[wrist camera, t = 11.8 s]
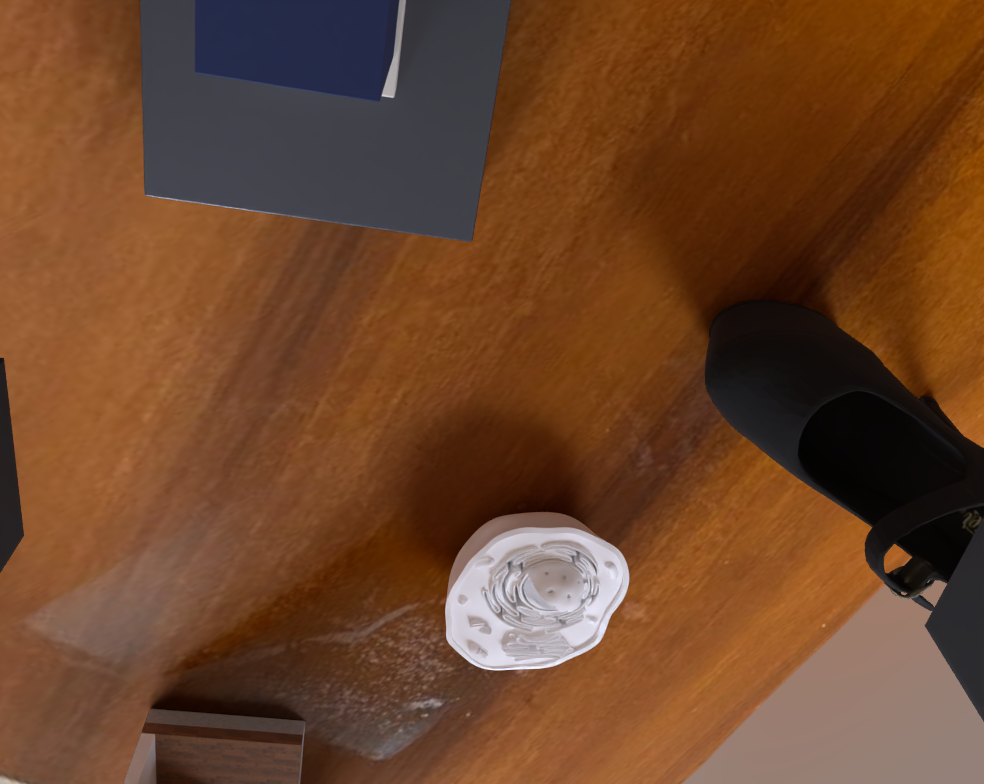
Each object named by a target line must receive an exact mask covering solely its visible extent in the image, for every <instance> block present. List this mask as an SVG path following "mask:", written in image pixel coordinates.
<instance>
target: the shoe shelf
mask: <svg viewBox="0 0 984 784" xmlns="http://www.w3.org/2000/svg"><path fill="white" fill-rule="evenodd" d="M510 6H511V0H406V6H405V15H404V24H403V33H402V42H401V52H400V61H399V70H398V79H397V88H396V92H395V96H394V97H393V98H391V97H385V96H381V99H380V102H374V101H368V100H362V99H355V98H349V97H343V96H336V95H330V94H324V93H317V92H311V91H305V90H298V89H292V88H286V87H280V86H273V85H267V84H261V83H254V82H248V81H242V80H235V79H229V78H223V77H216V76H210V75H204V74H198V73H195V0H140V25H141V66H142V107H143V148H144V189H145V195H146V196H150V197H157V198H164V199H171V200H178V201H185V202H192V203H200V204H207V205H214V206H221V207H228V208H235V209H242V210H249V211H256V212H263V213H270V214H277V215H284V216H291V217H298V218H305V219H312V220H319V221H326V222H333V223H340V224H347V225H354V226H361V227H368V228H375V229H382V230H389V231H396V232H403V233H410V234H417V235H424V236H431V237H438V238H445V239H452V240H459V241H466V242H472V240H473V234H474V228H475V222H476V216H477V210H478V204H479V197H480V191H481V185H482V179H483V173H484V167H485V160H486V154H487V148H488V142H489V136H490V130H491V124H492V117H493V111H494V105H495V99H496V93H497V87H498V80H499V74H500V68H501V62H502V56H503V50H504V43H505V37H506V31H507V25H508V19H509V13H510Z"/></svg>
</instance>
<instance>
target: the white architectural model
mask: <svg viewBox="0 0 984 784" xmlns="http://www.w3.org/2000/svg"><path fill="white" fill-rule="evenodd" d="M304 732H305V721H299V720H286V719H274V718H261V717H249V716H236V715H224V714H211V713H198V712H186V711H173V710H161V709H150V710H149V713H148V716H147V719H146V721H145V724H144V727H143V730H142V733H141V735H140V738H139V741H138V744H137V747H136V749H135V752H134V755H133V758H132V760H131V763H130V766H129V769H128V772H127V774H126V777H125V780H124V783H123V784H300V779H301V767H302V756H303V744H304Z"/></svg>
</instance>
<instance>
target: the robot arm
mask: <svg viewBox="0 0 984 784" xmlns="http://www.w3.org/2000/svg"><path fill="white" fill-rule="evenodd" d="M23 536H24V532H23V523H22V514H21V505H20V496H19V487H18V479H17V470H16V461H15V452H14V443H13V434H12V425H11V417H10V408H9V399H8V390H7V381H6V372H5V364H4V358H0V572H1V571H2V569H3V568H4V566H5V565H6V563H7V561H8V560H9V558H10V557H11V555H12V554H13V552H14V550H15V549H16V547H17V546H18V544H19V543H20V541H21V539H22V538H23ZM925 627H926V628H927V630H928V632H929V633H930V635H931V637H932V638H933V640H934V642H935V643H936V645H937V646H938V648H939V650H940V651H941V653H942V655H943V656H944V658H945V659H946V661H947V663H948V664H949V666H950V668H951V669H952V671H953V672H954V674H955V676H956V677H957V679H958V680H959V682H960V684H961V685H962V687H963V689H964V690H965V692H966V694H967V695H968V697H969V698H970V700H971V701H972V703H973V705H974V706H975V708H976V710H977V711H978V713H979V715H980V716H981V718H982V720H983V721H984V517H983V519H982V521H981V522H980V524H979V526H978V528H977V530H976V532H975V534H974V535H973V537H972V539H971V541H970V543H969V545H968V547H967V548H966V550H965V552H964V554H963V556H962V558H961V560H960V561H959V563H958V565H957V567H956V569H955V571H954V573H953V574H952V576H951V578H950V580H949V582H948V584H947V586H946V587H945V589H944V591H943V593H942V595H941V597H940V599H939V600H938V602H937V604H936V606H935V608H934V610H933V611H932V613H931V615H930V617H929V619H928V621H927V623H926V624H925Z"/></svg>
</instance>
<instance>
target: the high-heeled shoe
mask: <svg viewBox="0 0 984 784" xmlns="http://www.w3.org/2000/svg"><path fill="white" fill-rule="evenodd" d="M709 338H710V339H709V344H708V350H707V356H706V364H705V385H706V389H707V392H708V394H709V396H710V398H711V400H712V402H713V403H714V404H715V406H716V407H717V409H718V410H719V411H720V413H721V414H722V415H723V417H724V418H725V419H726V420H727V421H728V422H729V424H730V425H731V426H733V427H734V428H735V429H736V430H737V431H738V432H739V433H740V434H742V435H743V436H745V437H746V438H747V439H749V440H750V441H751V442H753V443H754V444H755V445H756V446H757V447H759V448H760V449H761V450H762V451H763V452H765V453H766V454H767V455H768V456H770V457H771V458H772V459H774V460H775V461H776V462H777V463H779V464H780V465H781V466H782V467H784V468H785V469H786V470H788V471H789V472H790V473H792V474H793V475H794V476H796V477H797V478H798V479H800V480H801V481H803V482H804V483H806V484H807V485H809V486H810V487H812V488H813V489H815V490H816V491H818V492H820V493H821V494H823V495H824V496H826V497H827V498H829V499H831V500H832V501H834V502H835V503H837V504H838V505H840V506H841V507H843V508H844V509H846V510H847V511H849V512H850V513H852V514H854V515H855V516H857V517H858V518H860V519H861V520H862V521H864V522H865V523H867V524H868V525H870V526H871V527H872V529H871V531H870V532H869V534H868V535H867V538H866V541H865V556H866V561H867V563H868V564H869V566H870V568H871V569H872V570H873V571H874V572H875V573H876V574H877V575H878V576H879V577H880V578H881V579H882V580H883V581H884V583H885V584H886V585H887V586H888V587H889V588H890V590H891V592H892V593H893V594H894V595H895V596H899V597H901V598H904V599H910V598H911V599H912V600H914V601H915V602H916V603H918V604H919V605H921V606H923V607H924V608H926V609H928V610H930V611H933V610H934V606H933V605H932V604H931V603H930V602H928V601H927V600H926V599H925V598H924V597H923V596H921V595H920V594H922V593H923V592H924V591H925V590H927V589H928V588H929V587H931V586H932V584H933V582H934V581H935V580H940V581H943V582H945V583H947V584H948V582H949V580H950V578H951V576H952V574H953V573H954V571H955V569H956V567H957V565H958V563H959V561H960V560H961V558H962V556H963V554H964V552H965V550H966V548H967V547H968V545H969V543H970V541H971V539H972V537H973V535H974V534H975V532H976V530H977V528H978V526H979V524H980V522H981V521H982V519H983V517H984V448H982V447H981V446H979V445H977V444H976V443H974V442H972V441H971V440H969V439H967V438H966V437H964V436H963V435H962V434H961V433H960V431H959V430H958V429H957V428H956V427H955V426H954V424H953V423H952V422H951V421H950V420H949V418H948V417H947V416H946V415H945V414H944V412H943V411H942V410H941V409H940V407H939V405H938V403H937V402H936V401H935V400H934V399H933V398H931V397H926V396H924V397H921V398H920V400H919V399H918V398H917V397H915V396H914V395H913V394H912V393H911V392H910V391H909V390H908V389H907V388H906V387H905V386H904V385H903V384H902V383H901V382H900V381H899V380H898V379H897V378H896V377H895V376H894V375H893V374H892V373H891V372H890V371H889V370H888V369H887V368H886V367H885V366H884V365H883V363H882V362H881V361H880V359H879V358H878V357H877V356H876V355H875V354H874V353H873V352H872V351H871V350H869V349H868V348H867V347H865V346H864V345H862V344H861V343H860V342H858V341H857V340H856V339H854V338H853V337H851V336H850V335H849V334H847V333H846V332H844V331H843V330H842V329H840V328H839V327H838V326H836V324H834V323H833V322H832V321H831V320H829V319H828V318H827V317H826V316H824V315H823V314H821V313H819V312H818V311H815V310H812V309H809V308H806V307H803V306H800V305H796V304H792V303H787V302H782V301H775V300H754V301H746V302H741V303H738V304H735V305H733V306H730V307H728V308H727V309H725V310H724V311H722V312H721V313H720V314H719V315H718V316H717V317H716V318H715V319H714V320H713V322H712V324H711V326H710V330H709ZM893 544H896V545H897V546H899V547H900V548H902V549H903V550H904V551H905V552H907V553H908V554H909V555H910V556H912V558H911V559H910V560H909V561H908V562H907V563H906V564H905V566H901V567H899V568H897V569H895V570H893V571H891V572H890V573H885V570H884V556H885V554H886V553H887V551H888V550H889V549H890V548H891V547H892V546H893ZM929 580H930V581H929ZM928 581H929V582H928ZM927 582H928V583H927ZM901 592H905V593H907V594H906V595H905V596H904V595H902V594H901Z"/></svg>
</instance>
